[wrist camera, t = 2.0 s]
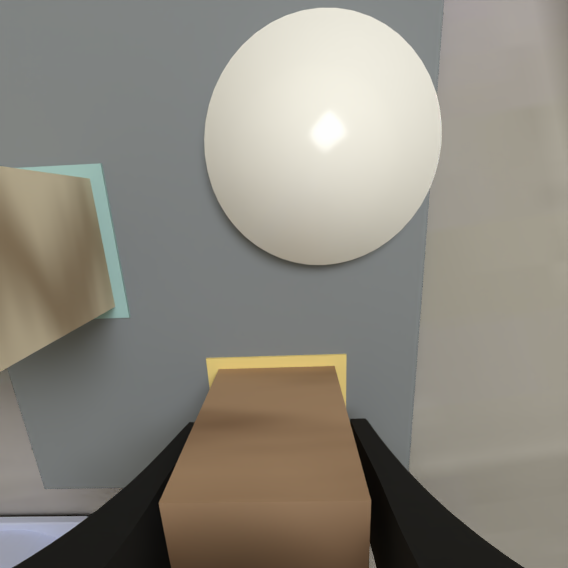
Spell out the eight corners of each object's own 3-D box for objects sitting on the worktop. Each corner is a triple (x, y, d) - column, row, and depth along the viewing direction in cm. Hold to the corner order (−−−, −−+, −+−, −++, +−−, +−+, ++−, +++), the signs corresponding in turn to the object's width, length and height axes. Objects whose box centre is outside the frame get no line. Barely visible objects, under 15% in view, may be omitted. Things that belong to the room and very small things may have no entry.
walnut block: (334, 461, 14) (365, 643, 8) (229, 463, 14) (185, 642, 8) (334, 365, 13) (371, 500, 7) (218, 369, 13) (158, 502, 7)
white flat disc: (424, 257, 12) (431, 260, 11) (220, 266, 12) (216, 269, 11) (443, 10, 9) (452, -2, 9) (196, 28, 10) (190, 16, 9)
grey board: (404, 476, 15) (408, 485, 14) (51, 481, 15) (43, 490, 15) (445, -98, 9) (454, -115, 9) (-112, -53, 10) (-133, -67, 9)
